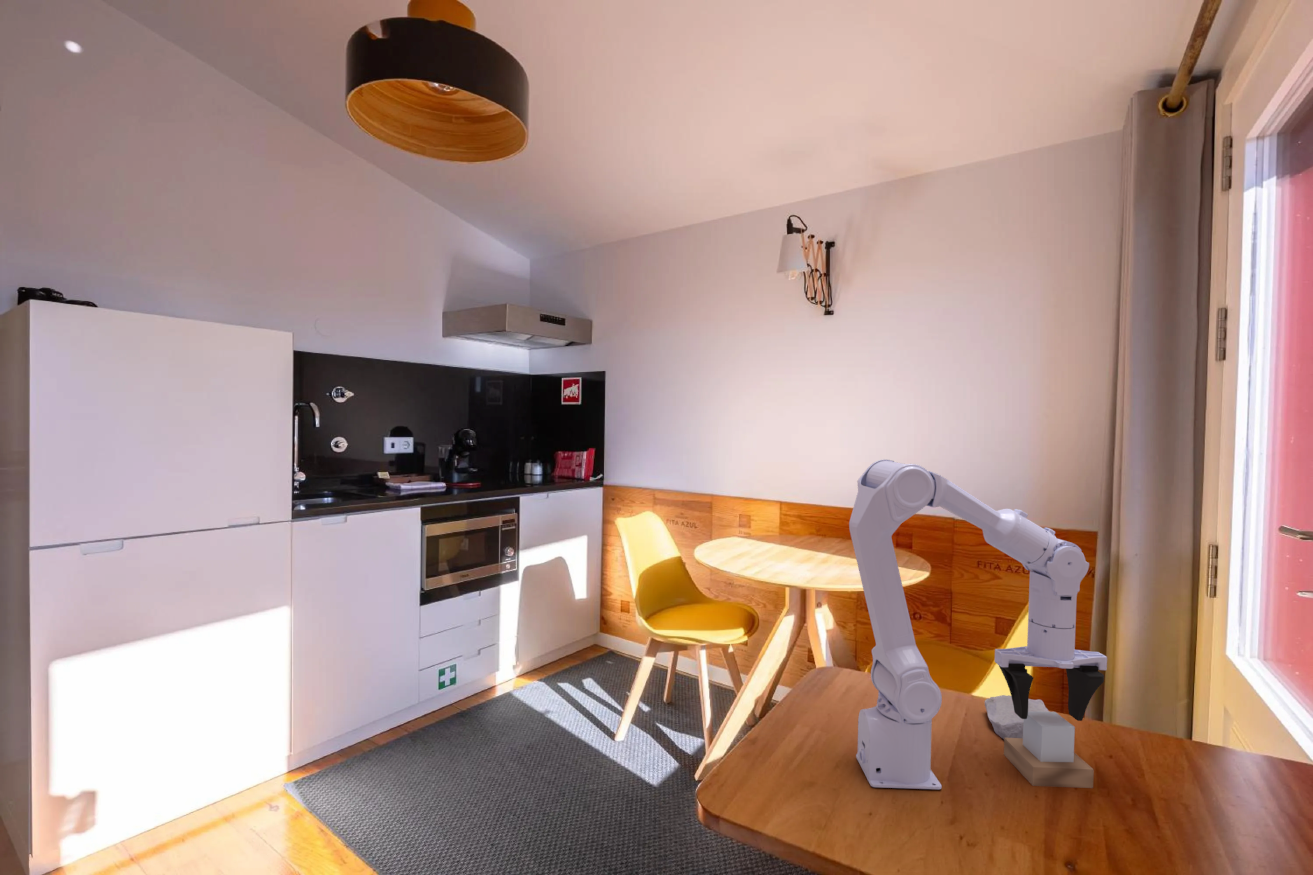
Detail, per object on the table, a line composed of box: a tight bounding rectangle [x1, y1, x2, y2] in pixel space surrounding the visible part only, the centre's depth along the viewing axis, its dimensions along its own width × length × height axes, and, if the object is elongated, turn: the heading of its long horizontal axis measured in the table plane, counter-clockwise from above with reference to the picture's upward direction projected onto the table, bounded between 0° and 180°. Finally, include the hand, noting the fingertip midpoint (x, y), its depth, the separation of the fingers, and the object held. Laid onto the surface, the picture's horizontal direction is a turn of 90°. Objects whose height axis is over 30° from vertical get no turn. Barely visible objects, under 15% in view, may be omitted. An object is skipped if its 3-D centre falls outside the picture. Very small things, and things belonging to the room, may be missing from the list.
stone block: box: [984, 694, 1050, 740], centre depth 103 cm, size 12×5×10 cm
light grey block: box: [1023, 711, 1076, 762], centre depth 91 cm, size 4×4×5 cm
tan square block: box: [1003, 738, 1095, 789], centre depth 91 cm, size 8×8×3 cm
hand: (1048, 716), depth 91 cm, fingers open, 7 cm apart
